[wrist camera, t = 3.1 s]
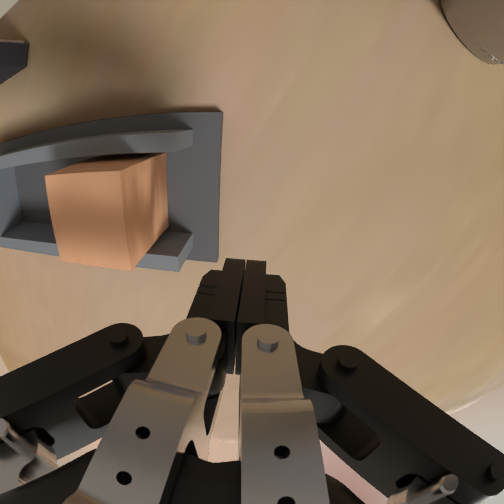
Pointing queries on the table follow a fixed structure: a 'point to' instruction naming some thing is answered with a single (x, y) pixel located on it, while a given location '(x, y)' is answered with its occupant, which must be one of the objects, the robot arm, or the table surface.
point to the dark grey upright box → (12, 58)
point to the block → (109, 208)
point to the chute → (120, 142)
